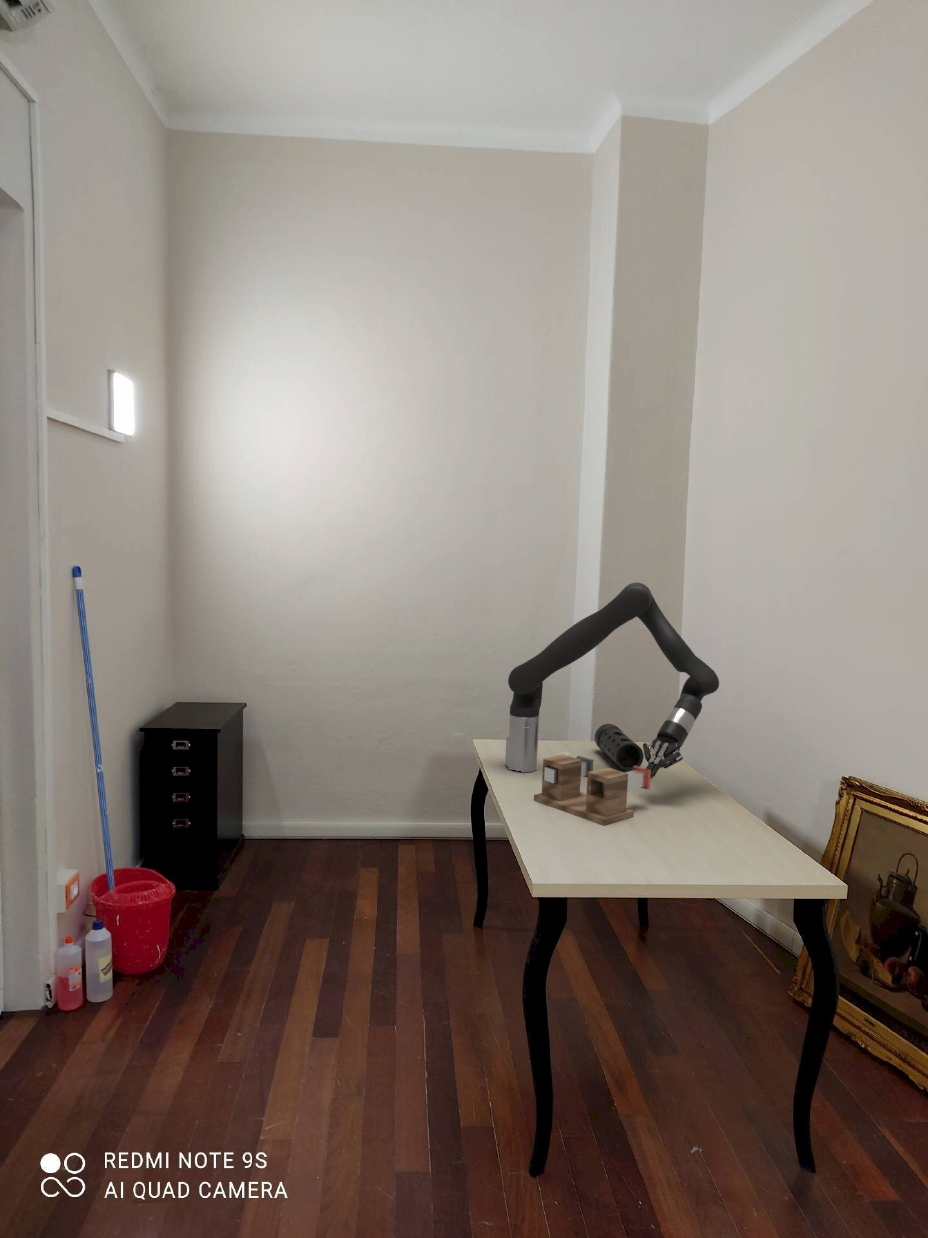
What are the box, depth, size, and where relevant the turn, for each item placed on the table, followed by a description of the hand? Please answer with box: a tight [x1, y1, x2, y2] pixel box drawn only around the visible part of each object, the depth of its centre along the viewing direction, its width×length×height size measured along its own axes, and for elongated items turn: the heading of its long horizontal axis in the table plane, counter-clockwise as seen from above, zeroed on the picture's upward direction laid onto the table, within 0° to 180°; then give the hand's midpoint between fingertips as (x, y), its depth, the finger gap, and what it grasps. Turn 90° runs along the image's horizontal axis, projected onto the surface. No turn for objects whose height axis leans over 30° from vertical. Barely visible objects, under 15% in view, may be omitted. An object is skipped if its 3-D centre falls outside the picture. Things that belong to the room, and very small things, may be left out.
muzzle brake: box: [594, 723, 645, 772], centre depth 277 cm, size 10×28×10 cm, turn 5°
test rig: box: [533, 754, 635, 826], centre depth 228 cm, size 25×12×12 cm, turn 41°
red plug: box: [602, 766, 651, 792], centre depth 227 cm, size 5×15×5 cm, turn 131°
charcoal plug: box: [544, 755, 594, 783], centre depth 236 cm, size 5×15×5 cm, turn 131°
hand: (647, 776), depth 234 cm, fingers closed
